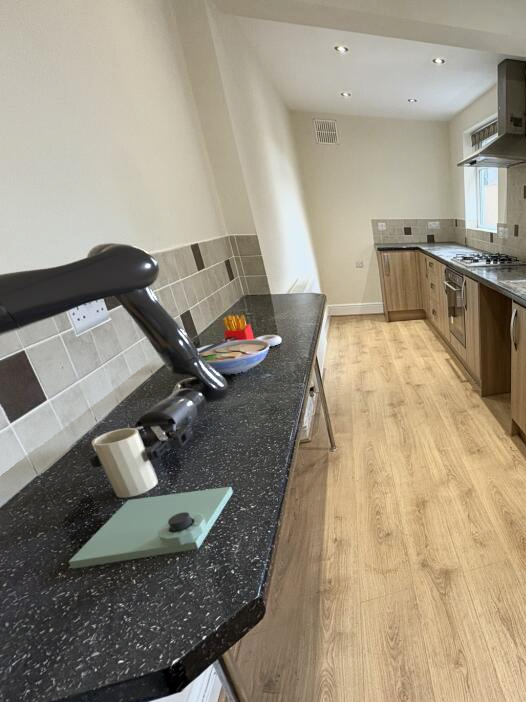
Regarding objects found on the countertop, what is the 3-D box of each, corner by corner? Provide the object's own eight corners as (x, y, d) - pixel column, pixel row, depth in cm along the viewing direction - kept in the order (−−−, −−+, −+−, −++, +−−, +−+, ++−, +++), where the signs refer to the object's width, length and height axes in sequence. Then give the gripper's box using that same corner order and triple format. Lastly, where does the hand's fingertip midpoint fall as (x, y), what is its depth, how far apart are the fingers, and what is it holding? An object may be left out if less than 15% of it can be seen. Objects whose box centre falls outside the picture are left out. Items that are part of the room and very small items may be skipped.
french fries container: (230, 359, 143) (218, 320, 138) (236, 352, 151) (225, 314, 145) (253, 357, 145) (242, 318, 140) (257, 350, 153) (248, 313, 148)
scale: (70, 570, 58) (61, 554, 57) (130, 506, 71) (124, 492, 70) (199, 549, 62) (193, 534, 61) (234, 492, 75) (230, 478, 74)
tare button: (168, 534, 61) (164, 525, 61) (176, 522, 64) (173, 513, 63) (187, 531, 62) (184, 522, 61) (195, 519, 64) (192, 510, 64)
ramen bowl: (245, 386, 121) (238, 360, 118) (170, 386, 121) (160, 360, 118) (290, 358, 144) (285, 336, 141) (226, 358, 144) (219, 336, 141)
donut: (254, 351, 152) (284, 346, 157) (251, 342, 150) (282, 338, 155) (252, 345, 159) (280, 340, 164) (249, 336, 158) (278, 332, 163)
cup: (108, 500, 73) (82, 447, 69) (128, 480, 78) (106, 430, 74) (147, 495, 74) (124, 442, 70) (164, 476, 80) (144, 426, 75)
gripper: (123, 406, 85) (65, 446, 70) (201, 399, 88) (161, 436, 73) (136, 438, 88) (83, 483, 73) (211, 430, 91) (174, 471, 76)
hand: (122, 459), depth 73 cm, fingers open, 8 cm apart
